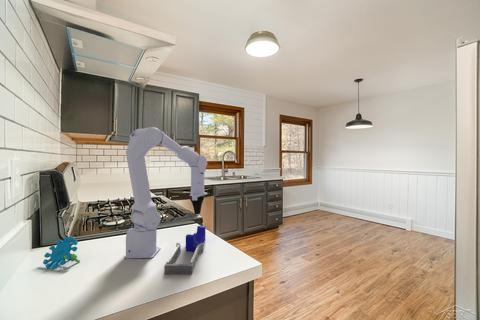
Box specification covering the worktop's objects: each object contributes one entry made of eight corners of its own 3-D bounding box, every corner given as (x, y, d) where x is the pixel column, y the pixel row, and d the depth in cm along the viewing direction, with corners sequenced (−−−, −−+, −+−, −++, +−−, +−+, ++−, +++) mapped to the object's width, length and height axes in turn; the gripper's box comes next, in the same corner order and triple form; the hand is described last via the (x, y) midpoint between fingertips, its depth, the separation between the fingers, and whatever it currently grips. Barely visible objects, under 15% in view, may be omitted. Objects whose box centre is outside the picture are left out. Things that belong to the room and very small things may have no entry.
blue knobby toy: (34, 261, 69) (62, 231, 75) (49, 268, 73) (74, 239, 79) (56, 273, 65) (84, 241, 71) (70, 280, 69) (95, 249, 75)
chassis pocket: (160, 274, 65) (160, 264, 65) (176, 249, 82) (176, 241, 82) (195, 274, 65) (195, 264, 65) (203, 249, 83) (203, 242, 83)
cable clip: (195, 239, 93) (195, 225, 93) (205, 240, 92) (205, 226, 92) (181, 251, 81) (181, 235, 81) (193, 253, 80) (193, 236, 80)
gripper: (204, 184, 90) (204, 218, 90) (208, 181, 105) (208, 210, 105) (187, 184, 90) (186, 218, 90) (193, 180, 105) (193, 209, 105)
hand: (197, 213), depth 98 cm, fingers closed
